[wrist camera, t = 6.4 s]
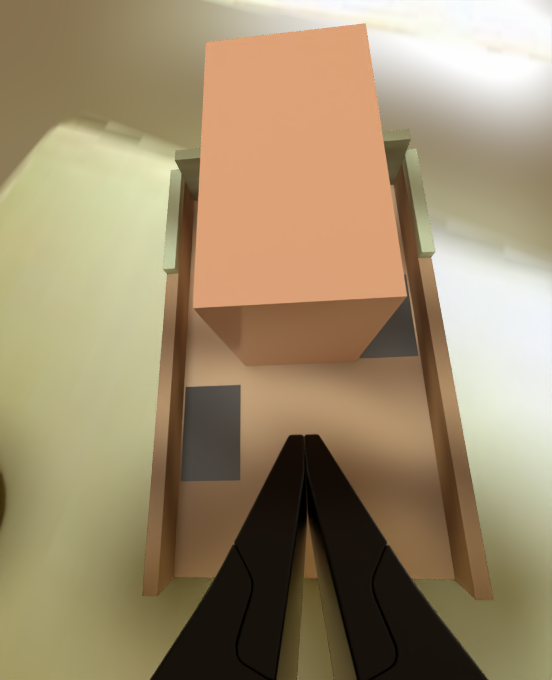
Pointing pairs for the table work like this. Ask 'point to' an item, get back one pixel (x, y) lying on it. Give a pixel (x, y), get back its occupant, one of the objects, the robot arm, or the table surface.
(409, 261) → the box
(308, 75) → the brick
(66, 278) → the table surface
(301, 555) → the robot arm
